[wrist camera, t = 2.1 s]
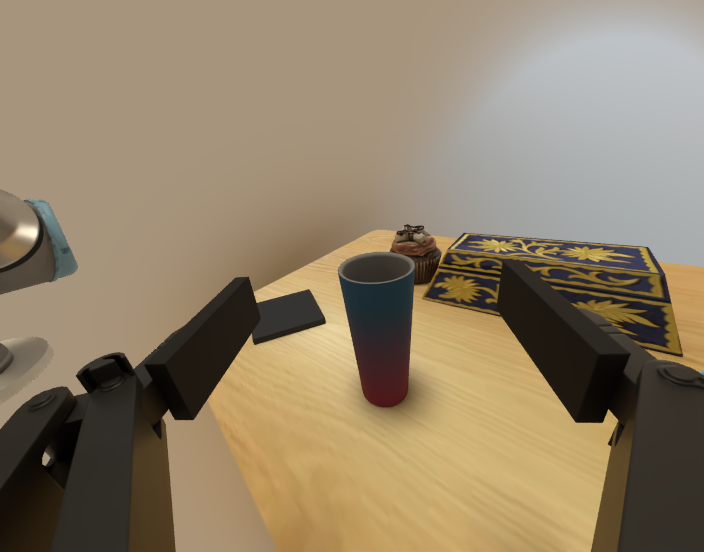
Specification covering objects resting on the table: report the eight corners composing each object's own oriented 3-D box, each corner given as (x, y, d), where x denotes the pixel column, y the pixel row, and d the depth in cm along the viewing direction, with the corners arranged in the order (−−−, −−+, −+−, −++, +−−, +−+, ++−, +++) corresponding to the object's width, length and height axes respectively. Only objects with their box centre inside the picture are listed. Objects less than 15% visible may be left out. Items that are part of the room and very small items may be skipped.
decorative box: (682, 356, 30) (720, 284, 27) (422, 299, 47) (422, 249, 43) (660, 308, 38) (687, 247, 34) (443, 273, 55) (444, 229, 51)
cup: (373, 359, 35) (362, 248, 29) (425, 377, 32) (426, 256, 25) (342, 398, 30) (322, 275, 24) (400, 425, 27) (394, 290, 20)
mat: (254, 344, 41) (252, 339, 40) (251, 309, 50) (249, 304, 50) (325, 323, 44) (324, 317, 43) (310, 293, 53) (309, 289, 53)
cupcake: (439, 287, 50) (441, 234, 46) (386, 284, 53) (383, 234, 49) (441, 265, 58) (443, 218, 54) (395, 264, 61) (393, 219, 57)
